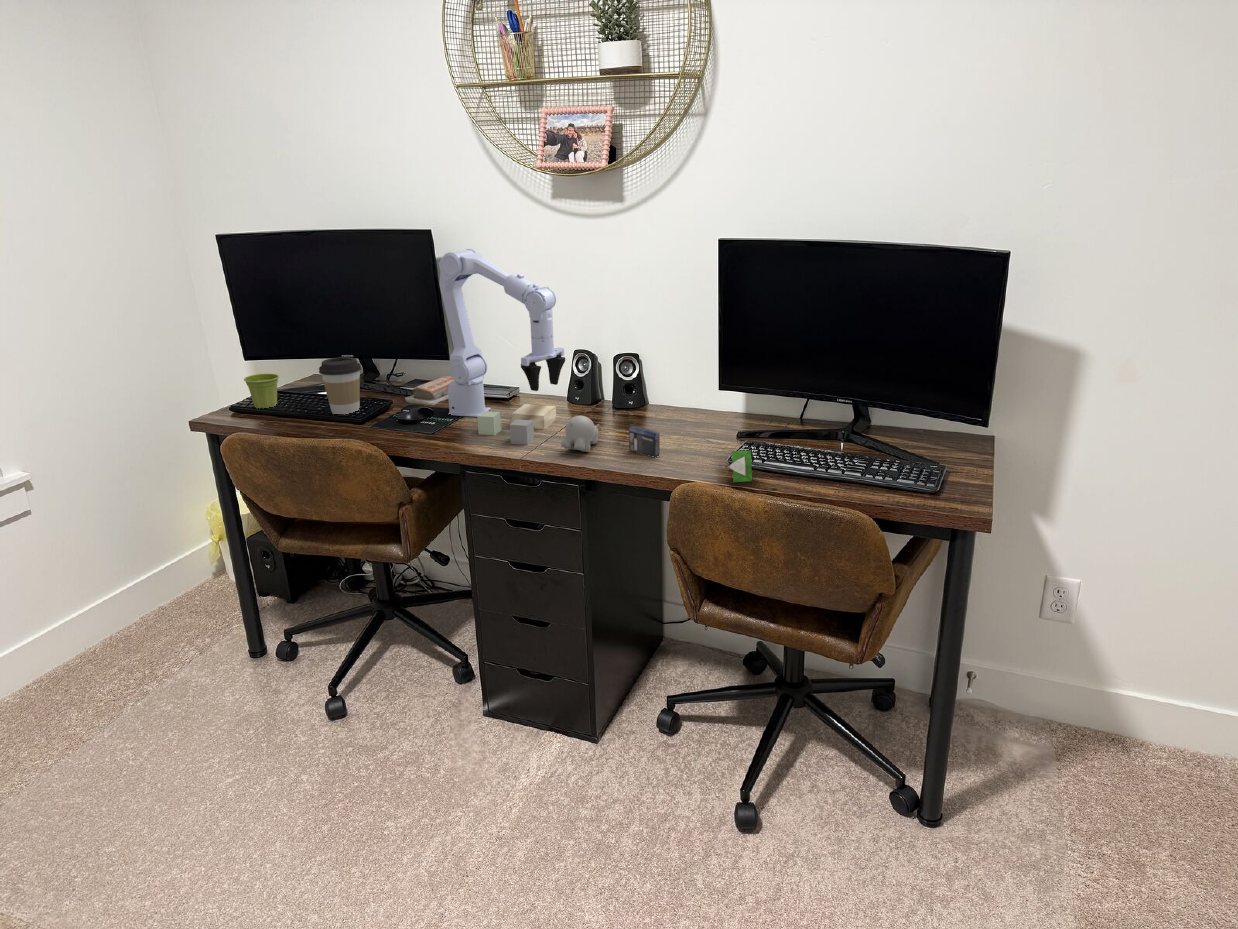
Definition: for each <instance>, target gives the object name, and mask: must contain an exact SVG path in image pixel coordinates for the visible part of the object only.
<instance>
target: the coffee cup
mask: <svg viewBox="0 0 1238 929" xmlns="http://www.w3.org/2000/svg"><path fill="white" fill-rule="evenodd" d="M318 370H319V371H318V373H319V374H321V378H322V381H323V385H324V390H325V393H326V396H327V399H328V400H327V401H328V403H329V407H330V411H331V413H332V415H333V414H349V413H353V412H355V411H358V410H359V411H360V409H361V408H360V401H361V399H360V393H361V391H360V387H361V385H360V384H361V383H360V382H361V379H360V378H361V376H360V375H361V374H360V373H361V372H360V371H361V370H362V366H361V364H360V363H359V362H358V360H357V359H356V358H355V357H351V356H338V357H333V358H327V359H325V360H322V361H321V364H320V366H319V368H318ZM359 408H360V409H359Z"/></svg>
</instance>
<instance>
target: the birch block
mask: <svg viewBox="0 0 1238 929" xmlns="http://www.w3.org/2000/svg"><path fill="white" fill-rule="evenodd" d="M516 419H519V420H533V427H534V429H535V430H545V429H547V428H548V427H549V426H551V425H552V424H553V423H554V422H555V421H556V420H557V407H556V406H555V405H545V404H544V405H543V404H529V403H524V404H523V405H521V406H519V408H517V409H516V410H514V411H513V412H511V423H512V422H514V421H515V420H516Z"/></svg>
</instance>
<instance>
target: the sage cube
mask: <svg viewBox="0 0 1238 929" xmlns="http://www.w3.org/2000/svg"><path fill="white" fill-rule="evenodd" d="M501 416H502V415H501V411H491V410H489V411H484V412H482V413H481V414H479V415H478V416H477V417H476V419H477V431H478V435H483V436H496V435H498V434H499V433H500V432H502V430H503V429H502V417H501Z"/></svg>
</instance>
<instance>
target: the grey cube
mask: <svg viewBox="0 0 1238 929" xmlns="http://www.w3.org/2000/svg"><path fill="white" fill-rule="evenodd" d="M509 436H510V438H509V439H510V444H512V445H514V444H515V445H526V446H528V445H529V444H531V442H532V441H534V440H535V430H534V427H533V420H519V419H516V420H515V421H514V422H512V421H511V423H510V424H509Z"/></svg>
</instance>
